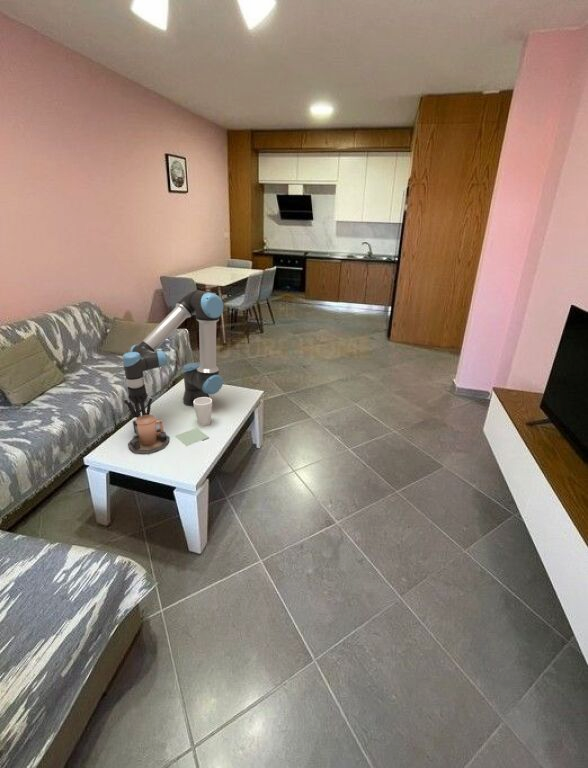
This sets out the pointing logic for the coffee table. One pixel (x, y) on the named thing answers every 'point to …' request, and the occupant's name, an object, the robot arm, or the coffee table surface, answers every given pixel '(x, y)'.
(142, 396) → the robot arm
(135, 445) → the collar
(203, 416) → the foam cup
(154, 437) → the terracotta mug
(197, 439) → the mat
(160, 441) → the base plate
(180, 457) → the coffee table surface
